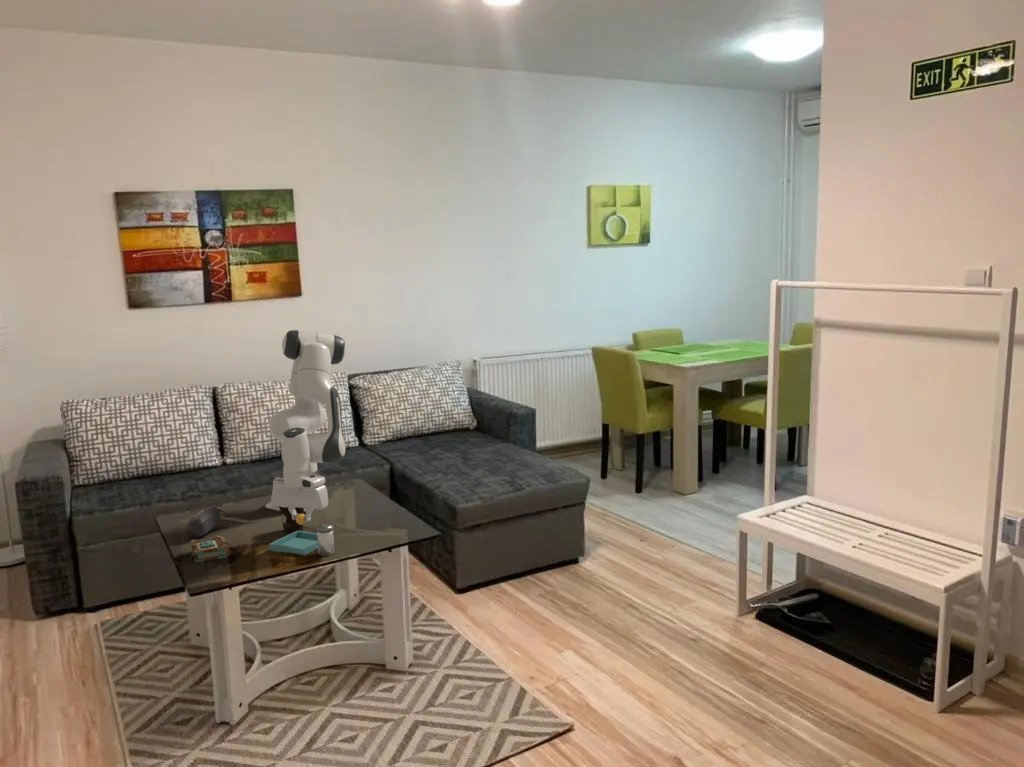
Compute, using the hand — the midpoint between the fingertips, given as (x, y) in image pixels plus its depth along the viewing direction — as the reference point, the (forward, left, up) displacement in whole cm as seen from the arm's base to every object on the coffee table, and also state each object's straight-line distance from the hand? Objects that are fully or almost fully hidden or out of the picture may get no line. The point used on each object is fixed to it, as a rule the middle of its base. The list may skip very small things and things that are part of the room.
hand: (301, 520), depth 267 cm
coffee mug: (-13, +11, -9) cm, 19 cm away
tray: (-1, 0, -9) cm, 9 cm away
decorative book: (-27, -16, -10) cm, 33 cm away
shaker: (+11, -2, -9) cm, 15 cm away
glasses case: (-42, 0, -9) cm, 43 cm away
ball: (0, 0, -2) cm, 2 cm away
